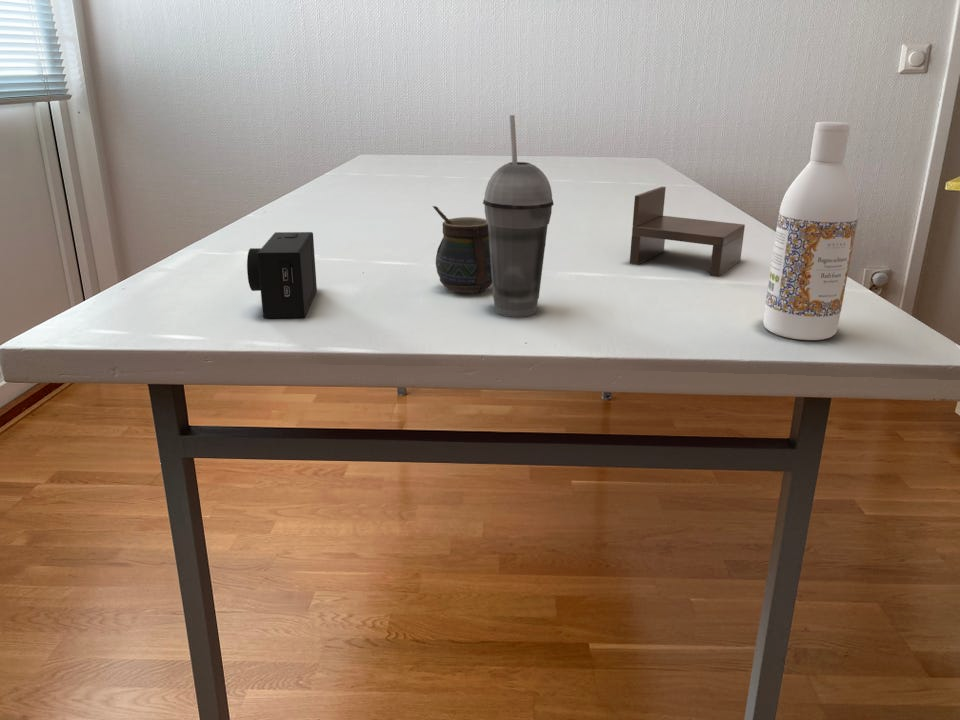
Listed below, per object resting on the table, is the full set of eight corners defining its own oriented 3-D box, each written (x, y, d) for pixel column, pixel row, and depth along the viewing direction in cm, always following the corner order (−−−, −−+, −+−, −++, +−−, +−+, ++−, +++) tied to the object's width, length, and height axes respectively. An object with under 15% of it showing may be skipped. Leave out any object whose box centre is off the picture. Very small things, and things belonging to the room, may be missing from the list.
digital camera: (269, 291, 90) (263, 231, 87) (317, 291, 90) (313, 230, 87) (251, 319, 80) (244, 252, 77) (304, 318, 80) (299, 251, 78)
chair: (740, 261, 106) (749, 194, 103) (718, 276, 98) (727, 204, 95) (656, 249, 112) (661, 186, 108) (629, 263, 104) (634, 195, 101)
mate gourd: (509, 292, 90) (512, 205, 87) (453, 301, 86) (453, 211, 83) (477, 278, 96) (477, 196, 92) (422, 286, 92) (421, 201, 88)
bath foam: (787, 344, 74) (822, 125, 67) (749, 322, 80) (777, 120, 73) (851, 339, 75) (892, 125, 68) (809, 318, 82) (842, 119, 75)
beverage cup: (514, 325, 79) (519, 119, 71) (467, 309, 84) (468, 115, 77) (563, 311, 83) (573, 116, 76) (516, 297, 88) (521, 112, 81)
